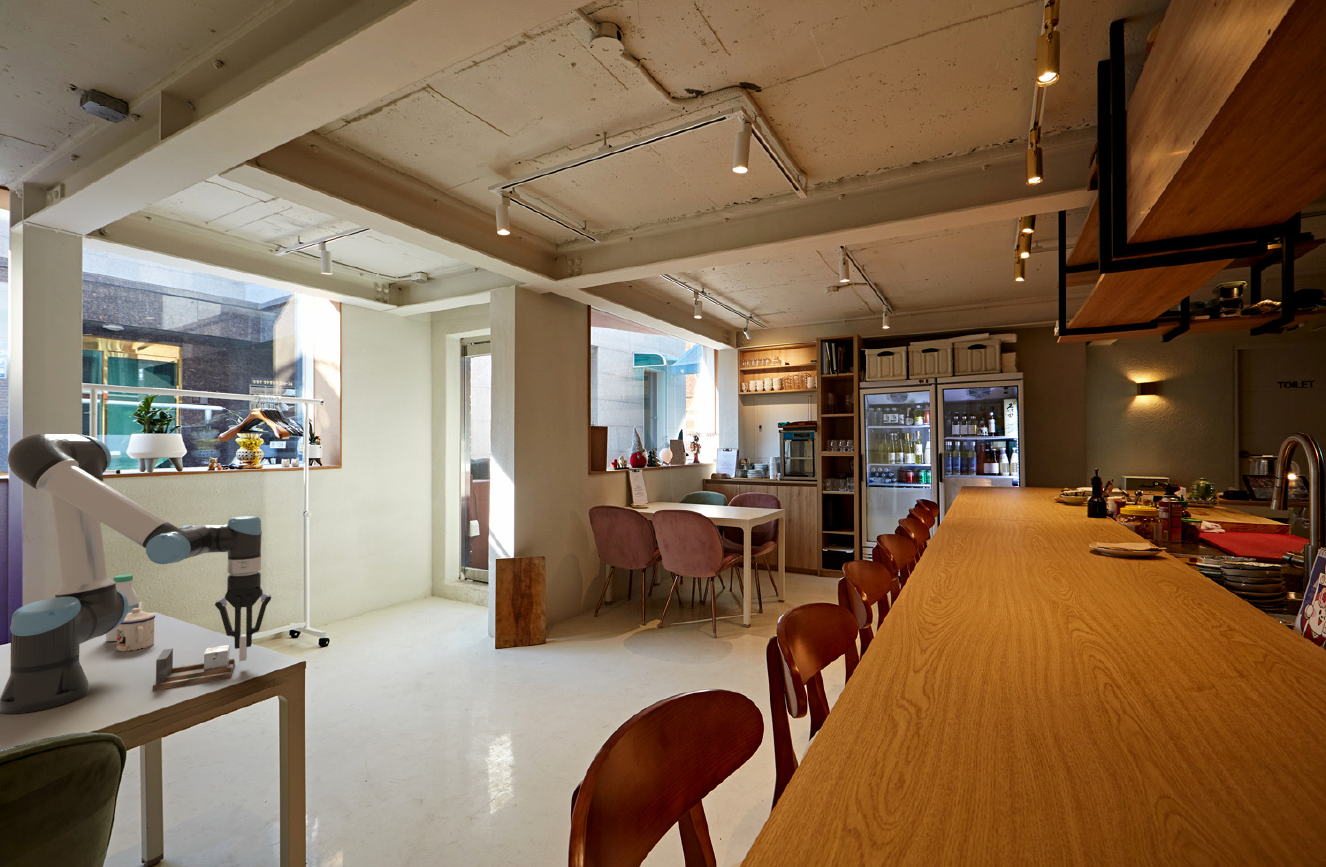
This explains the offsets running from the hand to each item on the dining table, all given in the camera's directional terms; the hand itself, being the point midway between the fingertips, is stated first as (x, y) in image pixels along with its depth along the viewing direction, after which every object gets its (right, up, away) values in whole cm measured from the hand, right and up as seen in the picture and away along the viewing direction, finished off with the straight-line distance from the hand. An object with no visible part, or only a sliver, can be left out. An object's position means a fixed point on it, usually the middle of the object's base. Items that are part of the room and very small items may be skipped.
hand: (242, 659), depth 165 cm
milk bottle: (-57, -4, +27) cm, 63 cm away
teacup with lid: (-45, -3, +18) cm, 48 cm away
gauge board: (-9, -3, -5) cm, 11 cm away
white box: (-4, -1, -5) cm, 6 cm away
